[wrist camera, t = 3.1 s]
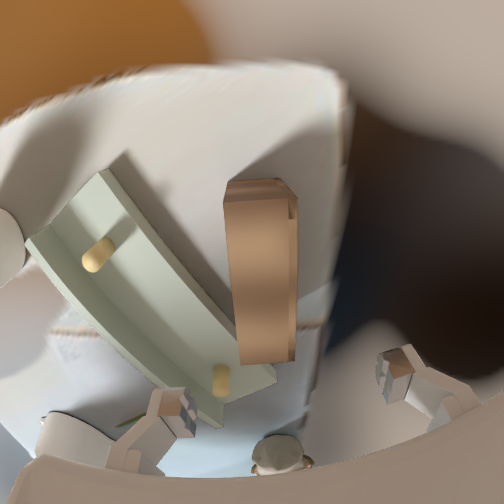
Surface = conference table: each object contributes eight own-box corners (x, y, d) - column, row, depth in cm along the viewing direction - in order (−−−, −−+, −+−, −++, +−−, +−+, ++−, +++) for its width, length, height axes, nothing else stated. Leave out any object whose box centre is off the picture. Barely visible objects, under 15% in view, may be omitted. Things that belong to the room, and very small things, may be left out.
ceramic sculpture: (320, 473, 27) (319, 494, 34) (310, 421, 35) (311, 454, 41) (237, 484, 27) (256, 503, 34) (236, 431, 35) (254, 463, 42)
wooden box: (282, 308, 26) (294, 361, 20) (239, 312, 26) (240, 365, 20) (279, 178, 22) (297, 197, 15) (227, 181, 22) (222, 202, 15)
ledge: (275, 369, 30) (281, 405, 25) (217, 394, 31) (216, 429, 26) (108, 168, 21) (77, 179, 16) (55, 223, 22) (23, 244, 17)
